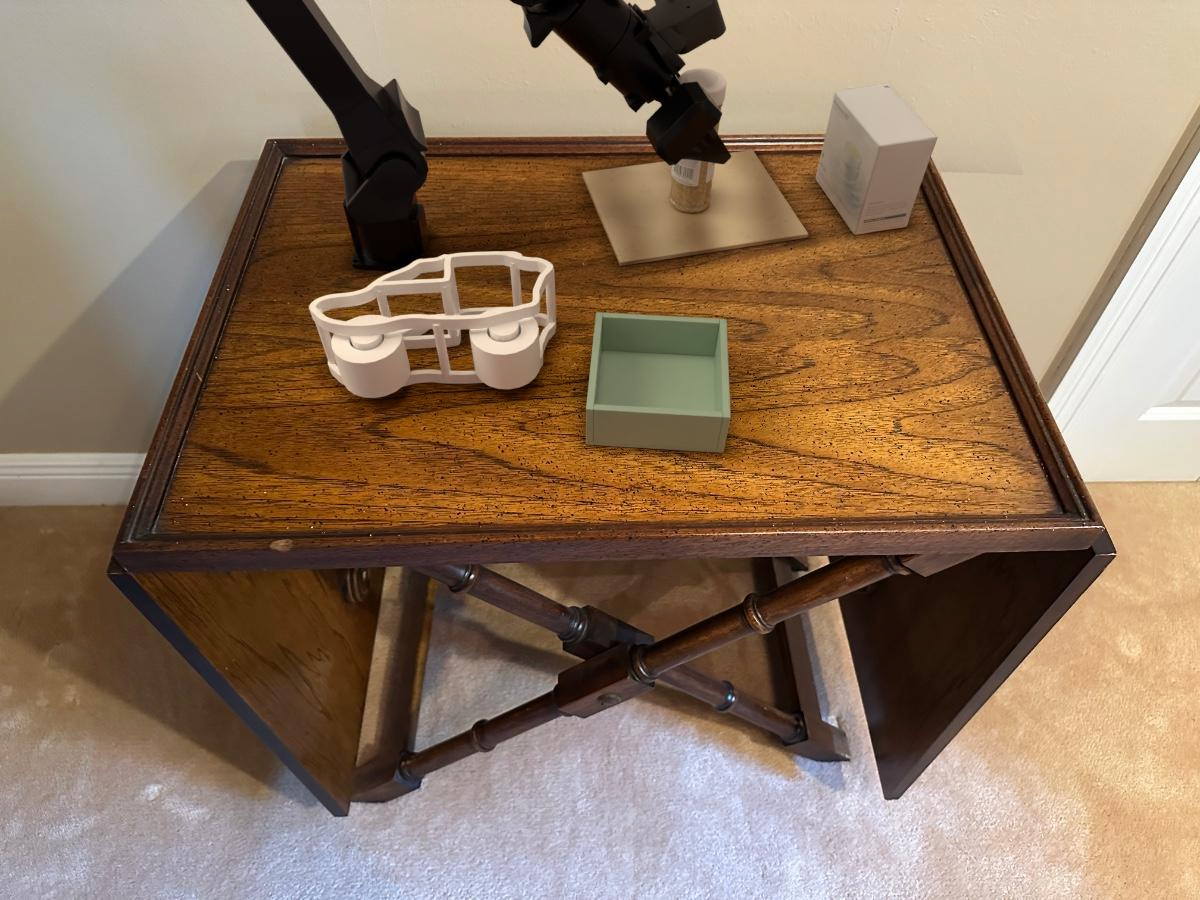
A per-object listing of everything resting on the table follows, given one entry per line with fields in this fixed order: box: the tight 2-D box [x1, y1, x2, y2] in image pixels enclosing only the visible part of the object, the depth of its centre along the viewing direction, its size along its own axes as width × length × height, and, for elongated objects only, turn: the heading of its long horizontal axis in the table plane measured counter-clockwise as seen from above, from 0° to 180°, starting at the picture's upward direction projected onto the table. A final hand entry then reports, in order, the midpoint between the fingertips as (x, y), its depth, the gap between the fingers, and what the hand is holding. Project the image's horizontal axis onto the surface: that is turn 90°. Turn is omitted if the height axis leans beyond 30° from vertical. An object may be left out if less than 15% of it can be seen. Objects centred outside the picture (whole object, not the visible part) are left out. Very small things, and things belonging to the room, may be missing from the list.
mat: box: [581, 149, 809, 267], centre depth 88 cm, size 20×16×1 cm
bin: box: [585, 311, 732, 454], centre depth 69 cm, size 11×11×4 cm
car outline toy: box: [308, 250, 557, 399], centre depth 70 cm, size 20×11×7 cm, turn 96°
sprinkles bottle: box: [669, 68, 727, 213], centre depth 83 cm, size 5×5×14 cm
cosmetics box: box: [814, 82, 938, 236], centre depth 85 cm, size 10×6×10 cm, turn 14°
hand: (711, 134), depth 82 cm, fingers open, 9 cm apart
